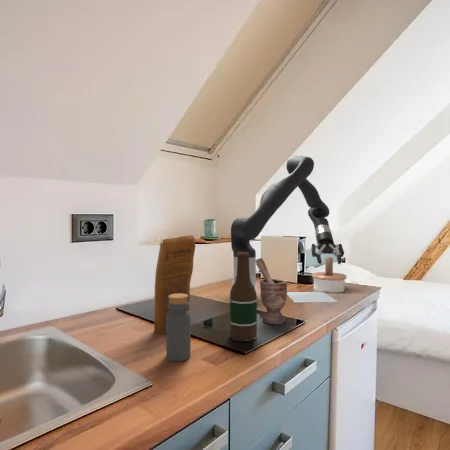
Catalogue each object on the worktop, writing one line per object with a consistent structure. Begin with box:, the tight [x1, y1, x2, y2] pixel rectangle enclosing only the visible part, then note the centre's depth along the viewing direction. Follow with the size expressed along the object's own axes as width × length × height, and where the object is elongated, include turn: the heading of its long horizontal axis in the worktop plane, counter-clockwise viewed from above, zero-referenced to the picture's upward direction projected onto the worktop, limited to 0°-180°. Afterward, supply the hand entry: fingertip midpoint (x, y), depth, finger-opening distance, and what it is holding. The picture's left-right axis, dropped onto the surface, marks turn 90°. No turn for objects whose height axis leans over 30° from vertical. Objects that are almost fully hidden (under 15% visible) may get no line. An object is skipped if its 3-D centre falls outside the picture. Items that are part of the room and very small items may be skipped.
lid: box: [311, 256, 347, 281], centre depth 153 cm, size 15×15×9 cm
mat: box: [287, 291, 338, 304], centre depth 139 cm, size 17×17×1 cm
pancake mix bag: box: [153, 234, 196, 335], centre depth 103 cm, size 7×19×28 cm, turn 148°
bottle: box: [165, 293, 191, 362], centre depth 82 cm, size 6×6×15 cm
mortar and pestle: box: [256, 257, 288, 325], centre depth 110 cm, size 12×9×20 cm
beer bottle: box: [229, 252, 258, 341], centre depth 94 cm, size 8×8×24 cm
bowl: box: [313, 278, 346, 293], centre depth 154 cm, size 13×13×6 cm
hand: (330, 263), depth 152 cm, fingers open, 8 cm apart
